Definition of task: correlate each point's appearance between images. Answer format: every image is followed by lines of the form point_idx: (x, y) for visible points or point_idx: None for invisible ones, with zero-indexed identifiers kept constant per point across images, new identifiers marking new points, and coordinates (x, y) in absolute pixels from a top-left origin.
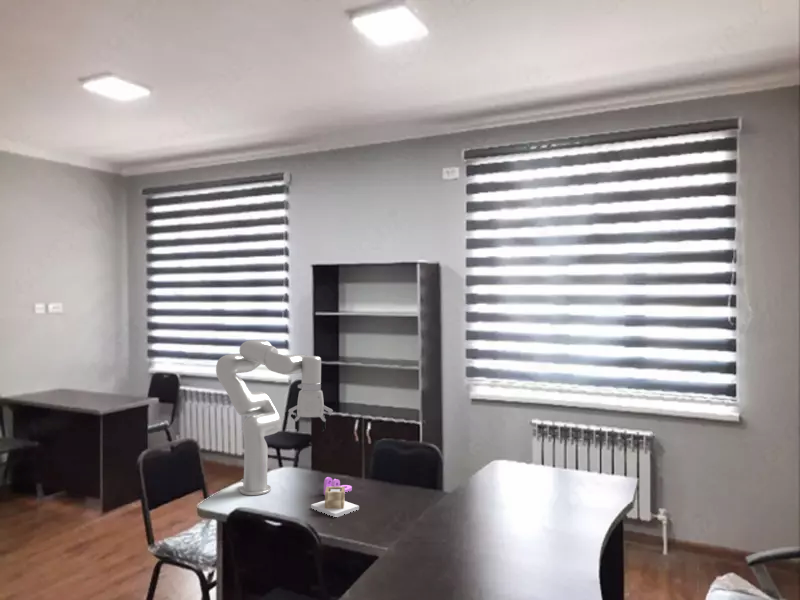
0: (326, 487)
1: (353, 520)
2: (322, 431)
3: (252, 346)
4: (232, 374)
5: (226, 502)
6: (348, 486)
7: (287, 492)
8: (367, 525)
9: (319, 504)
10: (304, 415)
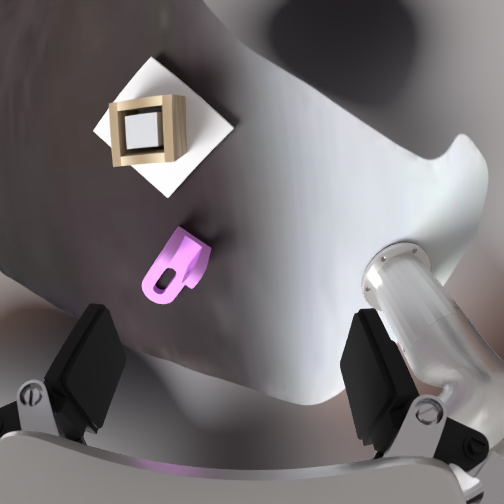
0: (173, 151)
1: (108, 52)
2: (95, 304)
3: None
4: None
5: (455, 197)
6: (151, 292)
7: (317, 267)
8: (79, 31)
9: (206, 130)
10: (327, 496)
